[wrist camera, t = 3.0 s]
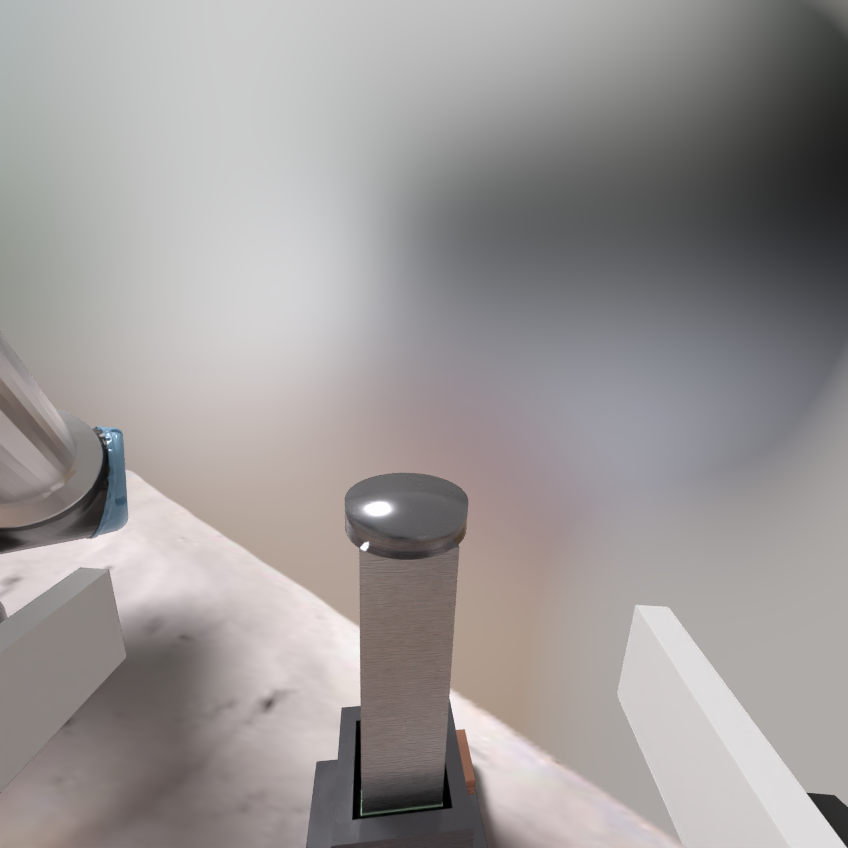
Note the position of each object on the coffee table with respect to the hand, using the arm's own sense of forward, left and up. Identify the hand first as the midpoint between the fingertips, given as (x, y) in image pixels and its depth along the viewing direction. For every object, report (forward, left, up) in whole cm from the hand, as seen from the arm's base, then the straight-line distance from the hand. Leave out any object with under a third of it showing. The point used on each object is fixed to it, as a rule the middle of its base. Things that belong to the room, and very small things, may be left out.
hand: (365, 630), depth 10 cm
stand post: (-10, +2, -27) cm, 28 cm away
